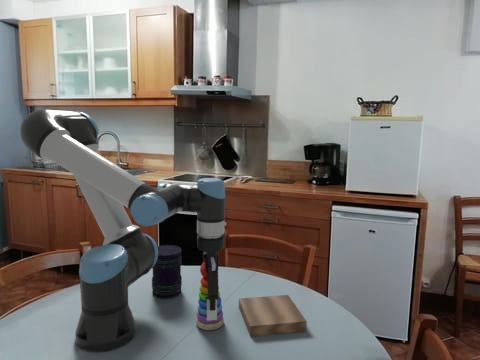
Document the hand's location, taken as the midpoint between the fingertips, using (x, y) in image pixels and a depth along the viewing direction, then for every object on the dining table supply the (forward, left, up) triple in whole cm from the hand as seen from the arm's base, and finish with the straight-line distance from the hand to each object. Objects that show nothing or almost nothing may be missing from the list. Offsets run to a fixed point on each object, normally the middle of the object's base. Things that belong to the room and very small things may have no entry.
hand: (210, 312), depth 104 cm
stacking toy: (0, 0, -4) cm, 4 cm away
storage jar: (-12, +22, -4) cm, 25 cm away
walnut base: (+18, 0, -4) cm, 18 cm away
